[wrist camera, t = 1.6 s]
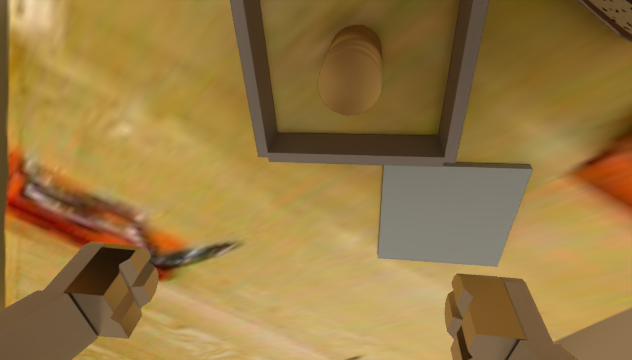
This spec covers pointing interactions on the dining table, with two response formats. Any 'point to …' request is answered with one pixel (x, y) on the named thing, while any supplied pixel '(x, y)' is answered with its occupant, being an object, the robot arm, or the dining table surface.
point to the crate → (358, 145)
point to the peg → (352, 71)
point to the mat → (450, 211)
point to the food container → (613, 15)
